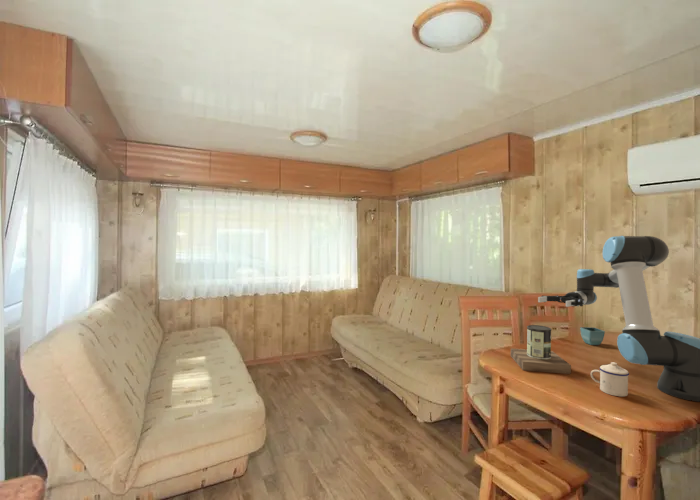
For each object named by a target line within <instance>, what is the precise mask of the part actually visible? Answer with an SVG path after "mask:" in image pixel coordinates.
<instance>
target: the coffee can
mask: <svg viewBox="0 0 700 500" xmlns="http://www.w3.org/2000/svg"><path fill="white" fill-rule="evenodd" d="M526 328H527V329H526V332H527V333H526V334H527V336H526V341H527V342H526V349H527V355H528V356H530V357H532V358H536V359H543V360H547V359H551V351H552V349H551V348H552V347H551V346H552V328H551V327H549V326H546V325H540V324H539V325H538V324H537V325H535V324H530V325H526Z"/></svg>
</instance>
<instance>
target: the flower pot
mask: <svg viewBox="0 0 700 500" xmlns="http://www.w3.org/2000/svg"><path fill="white" fill-rule="evenodd" d="M605 333H606V331H605V330H602V329H599V328H596V327H592V326H591V327H588V326H586V327H580V336H581V338H582V340H583V342H584V343H585V344H587V345H590V346H600V345H601V343H602V342H603V340H604V337H605Z"/></svg>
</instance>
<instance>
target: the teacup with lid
mask: <svg viewBox="0 0 700 500" xmlns="http://www.w3.org/2000/svg"><path fill="white" fill-rule="evenodd" d="M593 373H599V380H598V379H596V378H595V377H594V375H593ZM629 375H630V373H629V371H628V370H627V369H625V368H623V367H622V366H619V365H618V363H617V362H614V361H613V362H612V361H611V362H610V363H609V364H602V365H600V366H599V369H593V370H591V371H590V378H591V379H592V380H593V381H594V382H596V383H598V384H599V390H600V391H601V392H603V393H604V394H607V395H611V396H615V397H620V398H621V397H627V396H628V394H629V392H628V391H629Z"/></svg>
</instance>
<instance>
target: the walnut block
mask: <svg viewBox="0 0 700 500" xmlns="http://www.w3.org/2000/svg"><path fill="white" fill-rule="evenodd" d="M510 357H511V358H512V359H513V361H515V363H516V364H517V366H519V367H520V369H521V370H522V371H528V372H540V373H541V372H542V373H556V374H567V375H571V373H572V371H571V370H572V365H571V364H570V363H568V361H566V360H565V359H564V358H562V357H561V356H560V355H558V354H557V353H556V352H554V351H553V350H551V359H547V360H543V359H536V358H532V357H530V356H528V355H527V348H526V349H525V348H510Z"/></svg>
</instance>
